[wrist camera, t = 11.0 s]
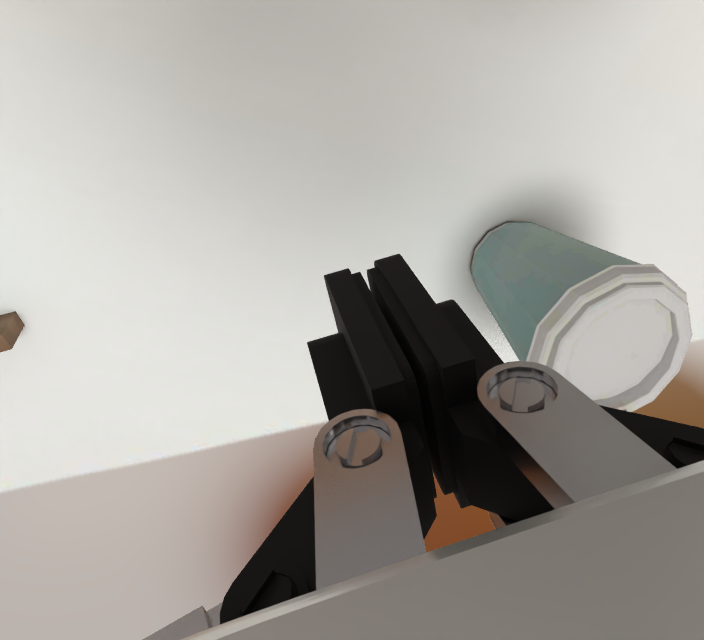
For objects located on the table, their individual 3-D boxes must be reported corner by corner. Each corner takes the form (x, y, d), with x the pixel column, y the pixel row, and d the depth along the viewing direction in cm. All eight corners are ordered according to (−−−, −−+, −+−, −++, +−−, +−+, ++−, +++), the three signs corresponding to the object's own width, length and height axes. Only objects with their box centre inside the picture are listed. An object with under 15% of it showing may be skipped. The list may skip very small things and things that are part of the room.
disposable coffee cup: (443, 210, 41) (546, 308, 29) (574, 178, 42) (729, 259, 30) (451, 325, 47) (540, 448, 34) (567, 294, 48) (693, 403, 35)
